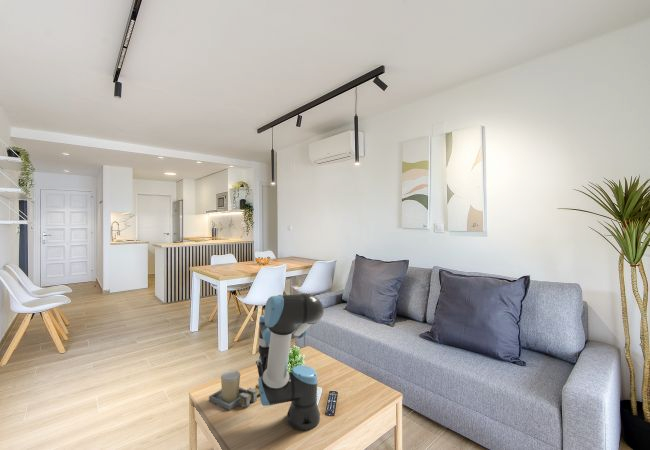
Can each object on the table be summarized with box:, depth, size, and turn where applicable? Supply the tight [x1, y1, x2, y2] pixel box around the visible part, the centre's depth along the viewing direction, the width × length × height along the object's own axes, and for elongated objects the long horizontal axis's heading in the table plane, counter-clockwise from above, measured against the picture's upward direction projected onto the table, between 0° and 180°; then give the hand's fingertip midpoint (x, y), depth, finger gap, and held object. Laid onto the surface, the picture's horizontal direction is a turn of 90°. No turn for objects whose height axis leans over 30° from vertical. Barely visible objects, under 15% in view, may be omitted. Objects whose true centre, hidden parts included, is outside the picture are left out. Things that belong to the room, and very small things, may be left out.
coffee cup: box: [220, 369, 241, 402], centre depth 154 cm, size 9×9×12 cm
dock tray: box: [208, 386, 258, 411], centre depth 153 cm, size 19×14×5 cm
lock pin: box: [241, 383, 260, 404], centre depth 155 cm, size 15×4×4 cm, turn 150°
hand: (265, 388), depth 163 cm, fingers closed
